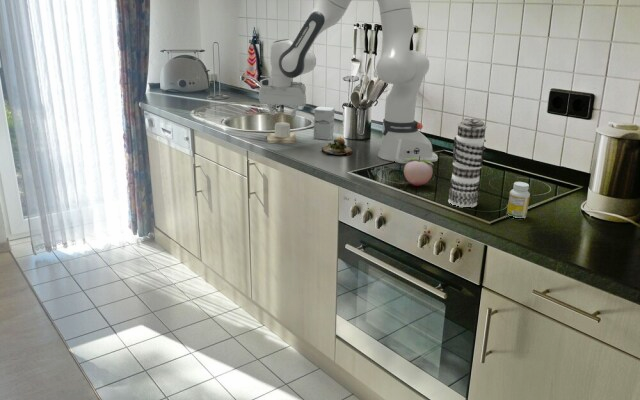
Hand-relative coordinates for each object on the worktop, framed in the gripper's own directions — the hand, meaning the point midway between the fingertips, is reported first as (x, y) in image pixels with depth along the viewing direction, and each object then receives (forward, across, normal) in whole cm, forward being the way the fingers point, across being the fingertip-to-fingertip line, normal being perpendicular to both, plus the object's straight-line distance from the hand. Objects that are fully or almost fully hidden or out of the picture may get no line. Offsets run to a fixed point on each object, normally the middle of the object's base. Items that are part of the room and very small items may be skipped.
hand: (282, 115), depth 230 cm
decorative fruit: (+13, -66, +32) cm, 74 cm away
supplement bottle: (+14, -98, +44) cm, 108 cm away
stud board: (+10, +1, 0) cm, 10 cm away
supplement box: (+11, -13, -13) cm, 21 cm away
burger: (+12, -27, +7) cm, 30 cm away
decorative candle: (+14, -82, +40) cm, 92 cm away
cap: (+9, +1, -1) cm, 9 cm away
